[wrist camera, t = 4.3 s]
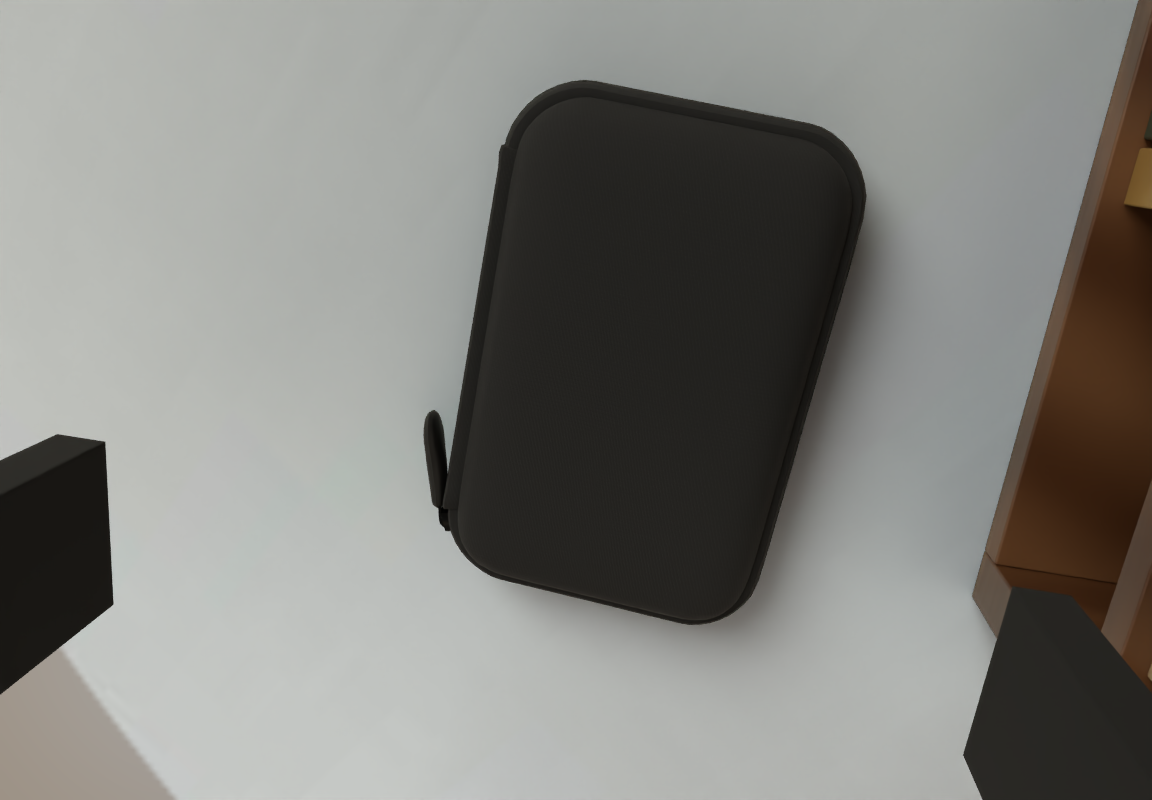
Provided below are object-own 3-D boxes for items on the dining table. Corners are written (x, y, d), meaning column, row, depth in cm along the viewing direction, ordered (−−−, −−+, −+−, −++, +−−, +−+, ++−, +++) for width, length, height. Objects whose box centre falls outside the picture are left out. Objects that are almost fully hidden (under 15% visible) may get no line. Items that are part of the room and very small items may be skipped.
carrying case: (491, 62, 24) (421, 532, 29) (463, 52, 21) (389, 576, 26) (874, 138, 24) (740, 609, 28) (898, 138, 21) (744, 663, 25)
